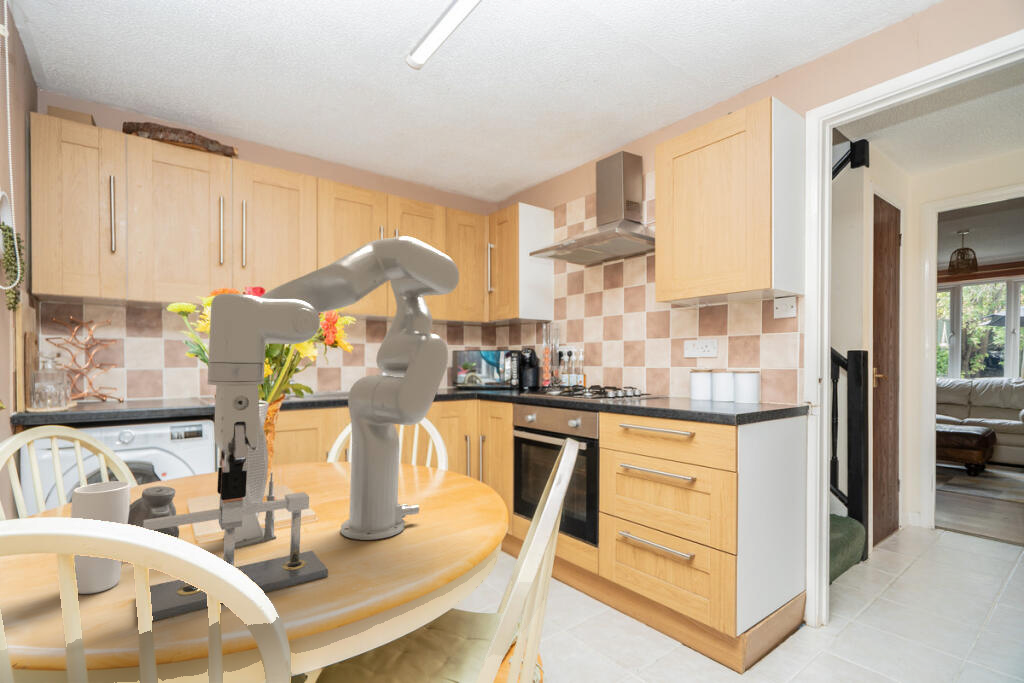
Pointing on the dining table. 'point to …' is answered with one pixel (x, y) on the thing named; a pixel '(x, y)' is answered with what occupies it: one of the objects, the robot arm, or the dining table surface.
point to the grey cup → (106, 506)
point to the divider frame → (290, 502)
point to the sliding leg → (230, 522)
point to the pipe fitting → (154, 508)
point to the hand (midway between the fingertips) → (231, 494)
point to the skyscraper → (257, 491)
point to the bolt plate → (265, 573)
